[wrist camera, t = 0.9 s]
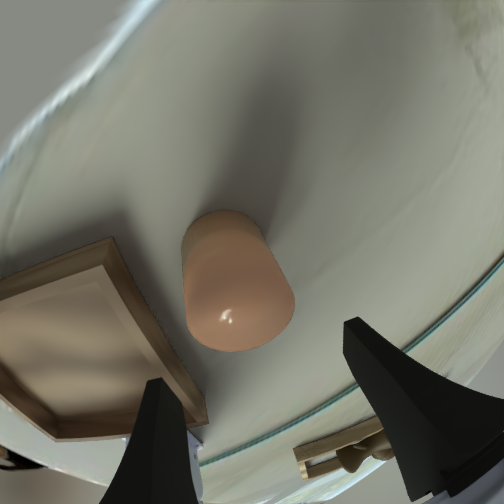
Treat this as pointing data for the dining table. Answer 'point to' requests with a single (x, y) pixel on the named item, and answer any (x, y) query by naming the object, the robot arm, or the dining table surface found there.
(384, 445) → the kendama
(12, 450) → the dining table surface
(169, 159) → the dining table surface
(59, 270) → the walnut tray
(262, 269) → the tan rounded cylinder
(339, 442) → the oak frame
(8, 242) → the dining table surface
